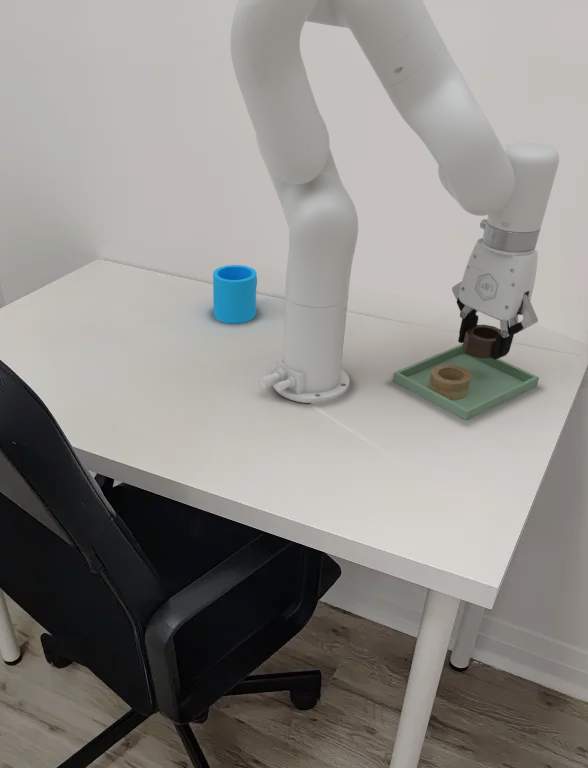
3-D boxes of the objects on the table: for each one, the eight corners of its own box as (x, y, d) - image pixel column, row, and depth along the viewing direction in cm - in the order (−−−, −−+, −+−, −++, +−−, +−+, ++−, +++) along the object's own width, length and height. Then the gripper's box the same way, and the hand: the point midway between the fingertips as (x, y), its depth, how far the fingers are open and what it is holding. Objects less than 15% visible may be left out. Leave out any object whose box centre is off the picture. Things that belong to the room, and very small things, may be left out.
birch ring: (449, 403, 120) (453, 387, 119) (421, 388, 124) (423, 372, 122) (475, 392, 123) (479, 375, 121) (446, 377, 127) (449, 361, 125)
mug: (242, 327, 144) (242, 285, 139) (205, 317, 148) (204, 276, 143) (273, 303, 152) (274, 263, 147) (237, 295, 156) (237, 255, 151)
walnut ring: (484, 362, 121) (488, 344, 119) (454, 347, 125) (458, 330, 123) (508, 352, 124) (513, 335, 122) (479, 338, 127) (483, 321, 126)
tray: (465, 423, 117) (467, 411, 116) (392, 383, 127) (393, 372, 126) (536, 388, 125) (539, 377, 123) (462, 353, 134) (464, 342, 133)
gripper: (447, 225, 116) (425, 334, 128) (544, 260, 106) (511, 377, 117) (480, 215, 120) (455, 323, 131) (577, 249, 109) (542, 363, 120)
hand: (482, 347), depth 124 cm, fingers closed on walnut ring, 6 cm apart
